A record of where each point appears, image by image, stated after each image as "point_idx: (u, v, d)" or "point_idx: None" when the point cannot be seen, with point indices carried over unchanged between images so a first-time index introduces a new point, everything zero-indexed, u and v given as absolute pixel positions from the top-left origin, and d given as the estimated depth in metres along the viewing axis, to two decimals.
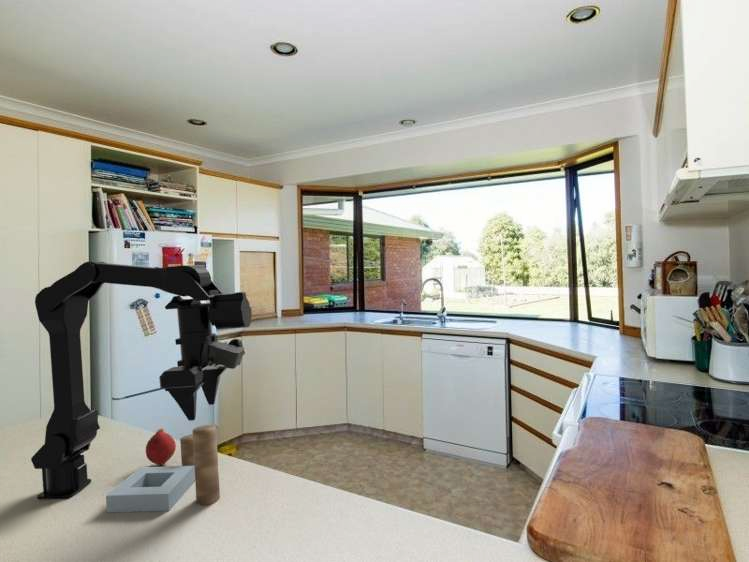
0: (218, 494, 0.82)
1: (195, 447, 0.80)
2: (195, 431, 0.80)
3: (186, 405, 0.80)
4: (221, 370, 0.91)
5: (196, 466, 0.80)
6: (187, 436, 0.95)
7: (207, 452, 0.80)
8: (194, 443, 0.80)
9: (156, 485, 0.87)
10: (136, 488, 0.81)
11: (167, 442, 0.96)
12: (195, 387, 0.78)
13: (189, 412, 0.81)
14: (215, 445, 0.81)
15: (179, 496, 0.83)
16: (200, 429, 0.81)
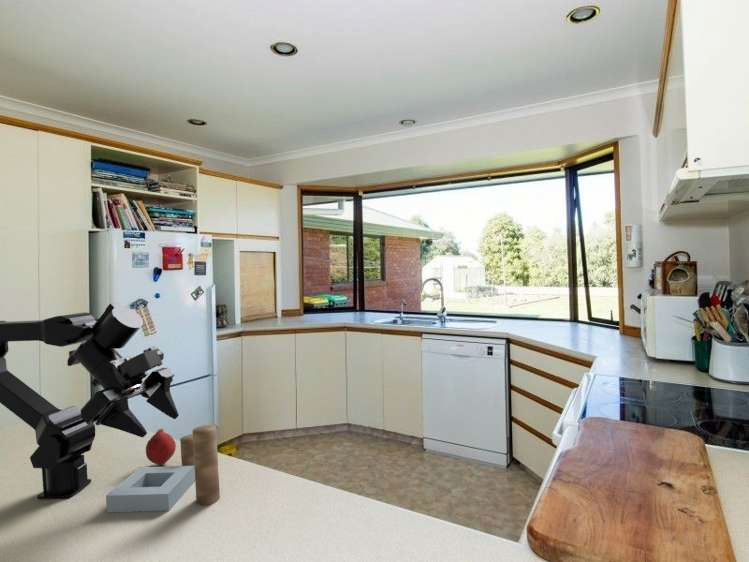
0: (218, 494, 0.82)
1: (195, 447, 0.80)
2: (195, 431, 0.80)
3: (128, 425, 0.78)
4: (163, 383, 0.88)
5: (196, 466, 0.80)
6: (187, 436, 0.95)
7: (207, 452, 0.80)
8: (194, 443, 0.80)
9: (156, 485, 0.87)
10: (136, 488, 0.81)
11: (167, 442, 0.96)
12: (114, 403, 0.76)
13: (136, 430, 0.78)
14: (215, 445, 0.81)
15: (179, 496, 0.83)
16: (200, 429, 0.81)
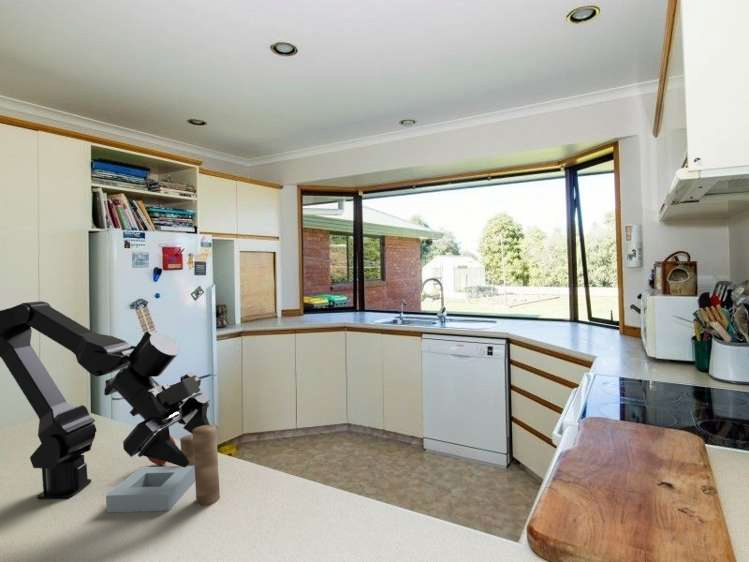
0: (218, 494, 0.82)
1: (195, 447, 0.80)
2: (195, 431, 0.80)
3: (170, 456, 0.77)
4: (200, 410, 0.87)
5: (196, 466, 0.80)
6: (187, 436, 0.95)
7: (207, 452, 0.80)
8: (194, 443, 0.80)
9: (156, 485, 0.87)
10: (136, 488, 0.81)
11: None
12: (157, 434, 0.74)
13: (178, 460, 0.77)
14: (215, 445, 0.81)
15: (179, 496, 0.83)
16: (200, 429, 0.81)
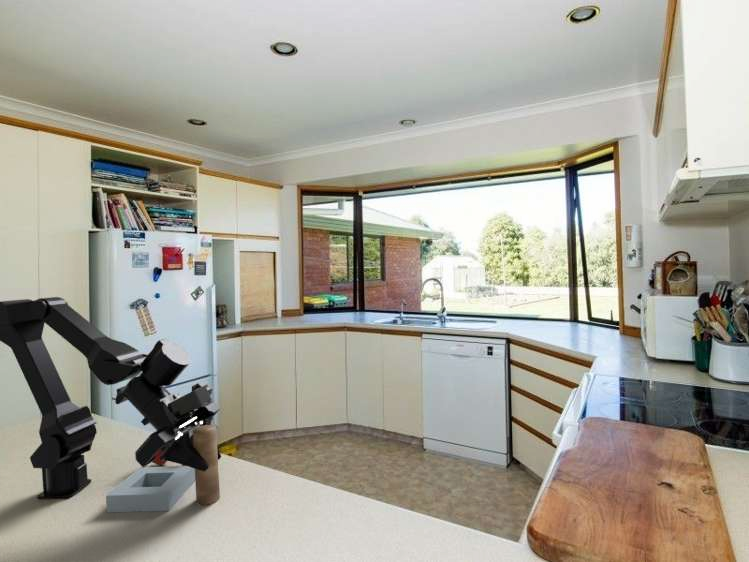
0: (218, 494, 0.82)
1: (195, 447, 0.80)
2: (195, 431, 0.80)
3: (190, 460, 0.79)
4: (204, 423, 0.84)
5: None
6: None
7: (207, 452, 0.80)
8: (194, 443, 0.80)
9: (156, 485, 0.87)
10: (136, 488, 0.81)
11: None
12: (178, 439, 0.76)
13: (198, 464, 0.79)
14: (215, 445, 0.81)
15: (179, 496, 0.83)
16: (200, 428, 0.81)
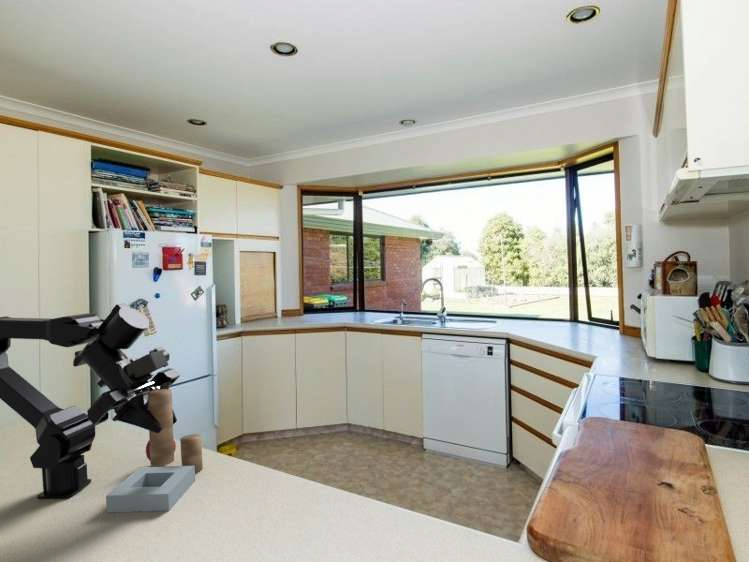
0: (172, 456, 0.83)
1: (149, 409, 0.81)
2: (150, 394, 0.82)
3: (144, 421, 0.80)
4: (161, 388, 0.86)
5: None
6: (187, 436, 0.95)
7: (161, 414, 0.81)
8: (149, 405, 0.82)
9: (156, 485, 0.87)
10: (136, 488, 0.81)
11: None
12: (131, 399, 0.78)
13: (151, 426, 0.80)
14: (170, 408, 0.83)
15: (179, 496, 0.83)
16: (156, 392, 0.83)
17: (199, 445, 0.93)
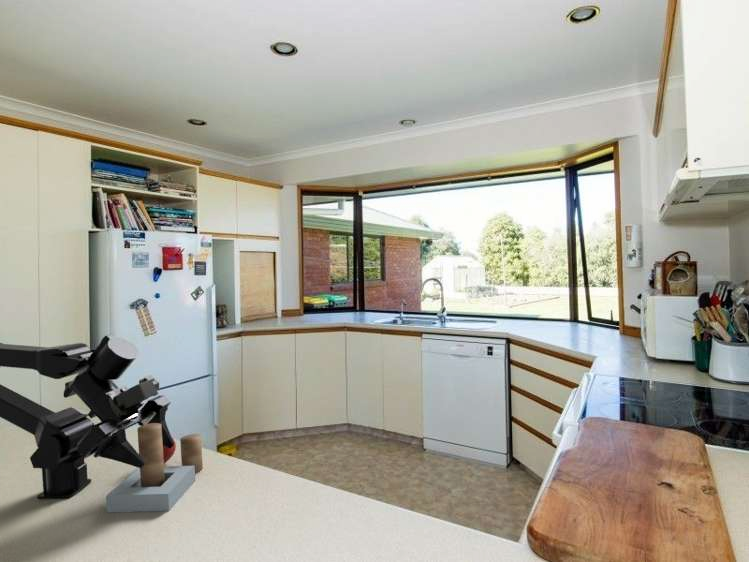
0: None
1: (139, 444, 0.82)
2: (140, 429, 0.83)
3: (126, 457, 0.79)
4: (158, 413, 0.89)
5: None
6: (187, 436, 0.95)
7: (151, 449, 0.82)
8: (139, 440, 0.82)
9: None
10: (136, 488, 0.81)
11: None
12: (112, 435, 0.77)
13: (134, 461, 0.79)
14: (160, 442, 0.84)
15: (179, 496, 0.83)
16: (145, 426, 0.84)
17: (199, 445, 0.93)
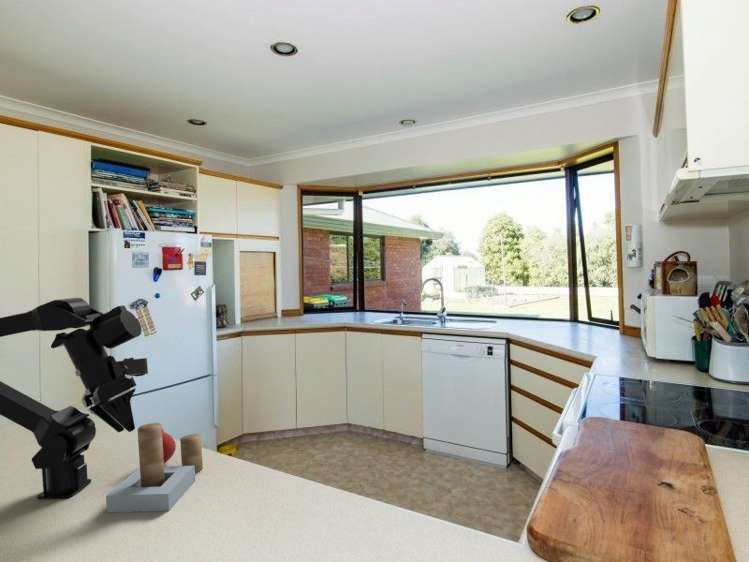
0: None
1: (139, 444, 0.82)
2: (140, 429, 0.83)
3: (124, 416, 0.83)
4: None
5: (141, 463, 0.82)
6: (187, 436, 0.95)
7: (151, 449, 0.82)
8: (139, 441, 0.82)
9: None
10: (136, 488, 0.81)
11: (167, 442, 0.96)
12: (134, 389, 0.83)
13: (128, 422, 0.83)
14: (160, 442, 0.83)
15: (179, 496, 0.83)
16: (145, 427, 0.84)
17: (199, 445, 0.93)
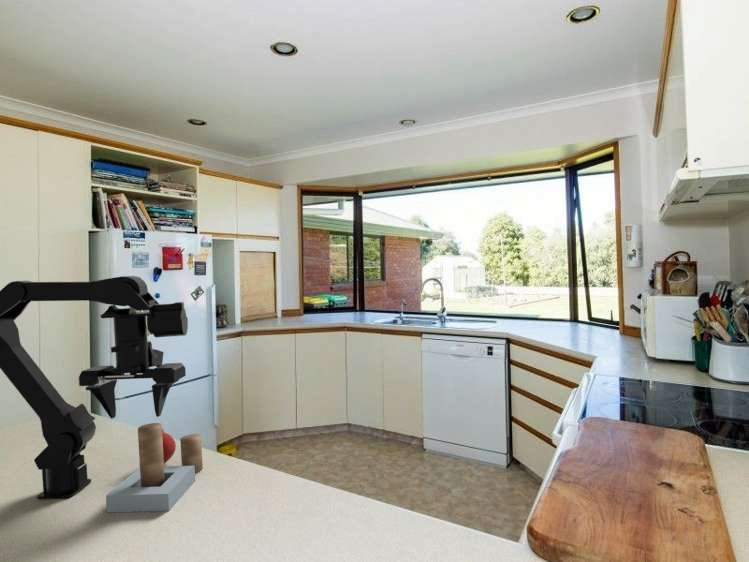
0: None
1: (140, 444, 0.82)
2: (140, 429, 0.83)
3: (162, 401, 0.89)
4: (115, 381, 0.92)
5: (141, 463, 0.82)
6: (187, 436, 0.95)
7: (151, 449, 0.82)
8: (139, 440, 0.82)
9: None
10: (136, 488, 0.81)
11: (167, 442, 0.96)
12: None
13: (161, 407, 0.90)
14: (160, 442, 0.84)
15: (179, 496, 0.83)
16: (146, 426, 0.84)
17: (199, 445, 0.93)
